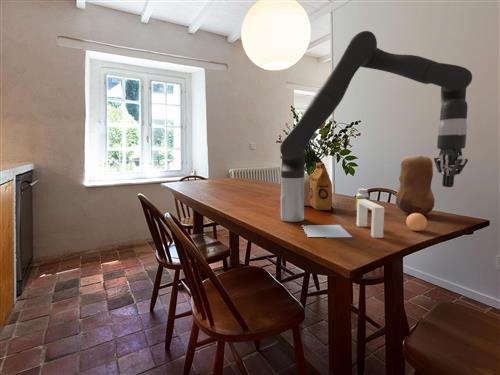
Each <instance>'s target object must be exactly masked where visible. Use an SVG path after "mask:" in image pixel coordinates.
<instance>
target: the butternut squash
mask: <svg viewBox="0 0 500 375" xmlns="http://www.w3.org/2000/svg"><path fill="white" fill-rule="evenodd" d="M433 167H434V164H433V161H432V159H431V158H430V157H429V156H425V155H408V156H406V157H404V158H403V159H402V161H401V164H400V175H399V178H398V180H399V183H400V185H399V189H398V190H397V193H396V198H395V204H396V205H397V207H398V208H399V210H400V211H402V212H404V213H406V214H409V215H411V214H413V213H419V214H422V215H423V216H424V215H427V214H429V213H430V212H432V211H433V209H434V207H435V195H434V194H433V190H432V186H431V185H432V181H433V177H434V168H433Z"/></svg>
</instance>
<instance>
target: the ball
mask: <svg viewBox="0 0 500 375" xmlns="http://www.w3.org/2000/svg"><path fill="white" fill-rule="evenodd" d="M405 222H406V225H407V228H409V229H411V230H412V231H415V232H416V231H417V232H420V231H422V230H424V229H425V228H426V227H427V225H428V220H427V218H426V217H425V216H424V215H422V214H419V213H413V214H409V215H408V216H407V217H406V221H405Z"/></svg>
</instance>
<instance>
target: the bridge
mask: <svg viewBox="0 0 500 375" xmlns="http://www.w3.org/2000/svg"><path fill="white" fill-rule="evenodd" d="M367 210H368V211H369V210H371V227H370V236H371V237H372V238H377V239H378V238H382V239H383V238H384V225H385V207H384V206H382V205H379V204H378V203H376V202H373V201H371V200H370V199H369V200H366V199H357V210H356V226H357V227H368V211H367Z"/></svg>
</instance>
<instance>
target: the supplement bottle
mask: <svg viewBox="0 0 500 375" xmlns="http://www.w3.org/2000/svg"><path fill="white" fill-rule="evenodd" d="M357 199H366V200H369V201H370V195H369V193H368V189H367V188H358V189H357V193H356V197H355V210H356V211H357ZM368 211H369V209H368V210H367V212H368Z"/></svg>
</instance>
